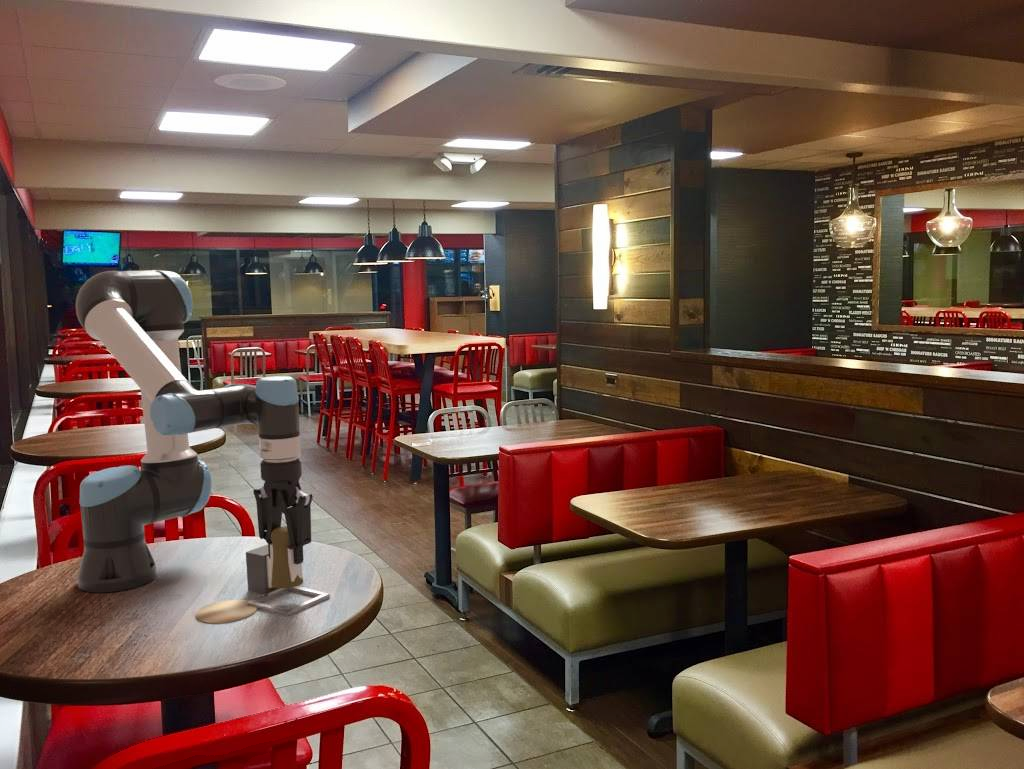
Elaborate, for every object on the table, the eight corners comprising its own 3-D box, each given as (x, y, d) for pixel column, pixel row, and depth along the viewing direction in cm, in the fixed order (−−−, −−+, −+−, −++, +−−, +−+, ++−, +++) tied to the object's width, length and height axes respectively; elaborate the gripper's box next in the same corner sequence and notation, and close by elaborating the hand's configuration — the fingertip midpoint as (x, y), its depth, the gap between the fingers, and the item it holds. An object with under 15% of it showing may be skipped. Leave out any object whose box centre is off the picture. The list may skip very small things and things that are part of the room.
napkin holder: (248, 590, 178) (245, 552, 177) (285, 576, 186) (283, 539, 185) (266, 595, 175) (264, 556, 174) (303, 580, 183) (301, 542, 182)
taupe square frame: (246, 606, 169) (246, 602, 169) (289, 588, 179) (289, 584, 178) (287, 616, 163) (287, 612, 163) (329, 597, 173) (329, 593, 173)
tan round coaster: (183, 616, 165) (182, 614, 165) (230, 597, 174) (230, 596, 174) (222, 627, 159) (222, 625, 159) (269, 607, 168) (269, 606, 168)
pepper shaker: (265, 587, 168) (262, 531, 167) (279, 577, 174) (276, 522, 173) (295, 589, 167) (292, 532, 166) (308, 578, 173) (305, 523, 172)
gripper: (233, 457, 169) (241, 576, 172) (299, 466, 160) (305, 590, 163) (263, 450, 175) (270, 565, 178) (328, 458, 166) (333, 578, 169)
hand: (286, 577), depth 170 cm, fingers closed on pepper shaker, 4 cm apart
